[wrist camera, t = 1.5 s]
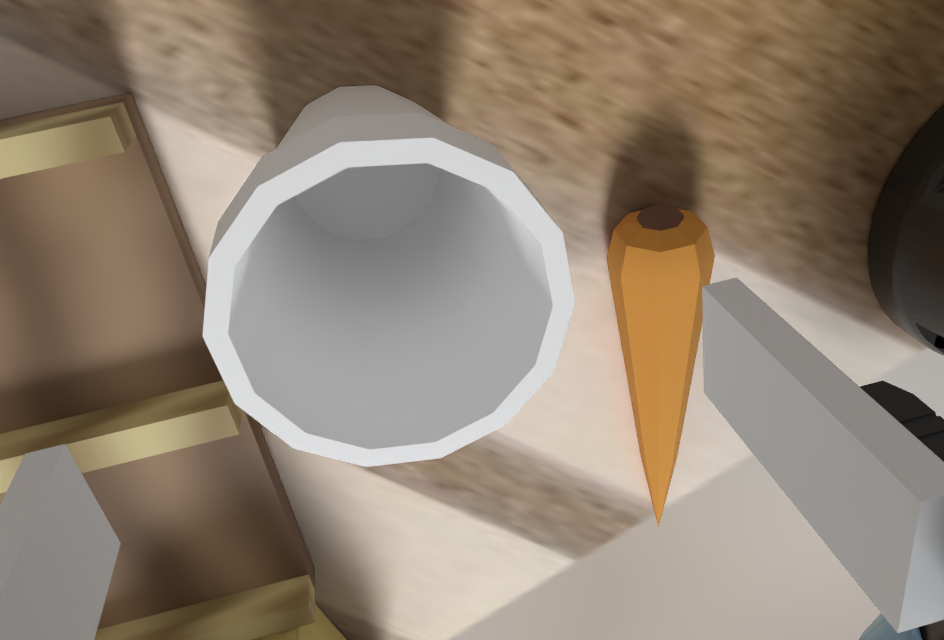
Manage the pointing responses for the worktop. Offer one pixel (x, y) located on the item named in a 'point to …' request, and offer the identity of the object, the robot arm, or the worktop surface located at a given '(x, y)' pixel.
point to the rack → (135, 384)
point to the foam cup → (384, 285)
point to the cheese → (309, 630)
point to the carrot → (659, 326)
